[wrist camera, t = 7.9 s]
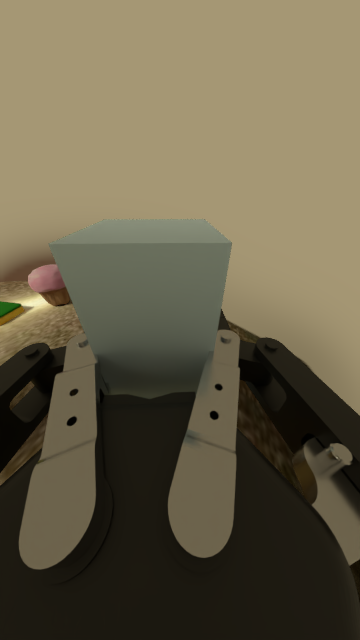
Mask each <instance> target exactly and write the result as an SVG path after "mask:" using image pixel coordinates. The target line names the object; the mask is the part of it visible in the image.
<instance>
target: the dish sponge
mask: <svg viewBox="0 0 360 640" xmlns="http://www.w3.org/2000/svg"><path fill="white" fill-rule="evenodd" d="M22 312H24V309H23V307H22V306H21V304H17V303H9V302H0V326H1V325H2V324H4V323H6V322H7V321H9V320H10V319H12V318H14V317H15V316H17V315H19V314H20V313H22Z"/></svg>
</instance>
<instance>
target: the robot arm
mask: <svg viewBox="0 0 360 640" xmlns="http://www.w3.org/2000/svg"><path fill="white" fill-rule="evenodd" d="M239 379H240V380H243V381H245V382H246V384H247V385H248V386H249V388H250V389H251V391H252V392H253V394H254V395H255V397H256V398H257V400H258V401H259V403H260V404H261V406H262V407H263V409H264V410H265V412H266V413H267V415H268V416H269V418H270V419H271V421H272V422H273V424H274V425H275V427H276V428H277V430H278V431H279V433H280V434H281V436H282V437H283V439H284V440H285V442H286V443H287V445H288V446H289V448H290V449H291V451H292V452H293V454H294V455H293V467H294V471H295V473H296V475H297V479H298V481H299V482H300V483H301V486H302V490H303V496H302V495H301V493H300V492H299V491H298V490H297V489H296V488H295V487H294V486H293V485H292V484H291V483H290V482H289V481H288V480H287V479H286V478H285V477H284V476H283V475H282V474H281V473H280V472H279V471H278V470H277V469H276V468H275V467H274V466H273V465H272V464H271V463H270V462H269V461H268V459H267V458H266V457H265V456H264V455H263V454H262V453H261V452H260V451H259V450H258V449H257V448H256V447H255V446H254V445H253V444H252V443H251V442H250V441H249V440H248V439H247V438H246V437H245V436H244V435H243V434H242V433H241V432H240V431H239V430H238V429H237V411H238V394H239ZM30 381H31V382H32V383H33V385H34V387H33V388H32V389H31V390H30V391H29V392H28V393H27V395H26V396H25V397H24V398H23V399H22V400H21V401H20V402H19V403H18V404H17V405H16V406H15V407H14V408H13V409H12V410H10V408H9V406H10V402H11V401H12V399H13V398H14V397H15V396H16V395H17V394H18V393H19V392H20V391H21V390H22V389H23V388H24V387H25V386H26V385H27V384H28V383H29V382H30ZM48 412H49V414H48V420H47V426H46V431H45V437H44V443H43V447H42V448H41V449H40V450H39V451H38V452H37V453H36V454H35V455H34V456H33V457H31V458H30V459H29V460H28V461H27V462H26V463H25V464H24V465H23V466H22V467H20V468H19V469H18V470H17V471H16V472H15V473H14V474H13V475H12V476H11V477H9V478H8V479H7V480H6V481H5V482H4V483H3V484H2V485H1V486H0V640H360V603H359V597H358V592H357V589H356V585H355V581H354V578H353V575H352V572H351V569H350V565H351V564H353V563H354V562H356V561H358V560H359V559H360V416H359V415H358V414H357V413H356V412H355V411H354V410H353V409H352V408H351V407H350V406H348V405H347V404H346V403H345V402H344V401H343V400H342V399H341V398H340V397H339V396H338V395H337V394H336V393H334V392H333V391H332V390H331V389H330V388H329V387H328V386H327V385H326V384H325V383H324V382H323V381H322V380H321V379H319V378H318V377H317V376H316V375H315V374H314V373H313V372H312V371H311V370H310V369H309V368H308V367H307V366H305V365H304V364H303V363H302V362H301V361H300V360H299V359H298V358H297V357H296V356H295V355H294V354H293V353H291V352H290V351H289V350H288V349H287V348H286V347H285V346H284V345H283V344H282V343H280V342H279V341H277V340H275V339H272V338H260V339H258V340H257V342H256V344H255V343H250V342H245V341H242V340H240V338H239V336H238V335H237V334H236V333H234V332H232V331H231V330H230V328H229V325H228V323H227V321H226V318H225V316H224V314H223V311H222V309H221V313H220V319H219V325H218V331H217V337H216V343H215V349H214V351H209V353H208V357H207V360H206V361H205V364H204V368H203V372H202V376H201V379H200V383H199V387H198V391H197V395H196V393H195V392H173V393H170V394H166V395H163V396H159V397H155V398H152V399H147V398H143V397H138V396H134V395H129V394H117V395H111V388H110V386H109V383H105V381H104V379H103V377H102V374H101V368H100V360H99V357H98V355H97V354H93V352H92V350H91V347H90V345H89V342H88V340H87V337H86V335H85V332H84V333H82V334H79V335H77V336H75V337H73V338H72V339H70V340H69V342H68V343H67V346H64V347H60V348H56V349H50V348H49V346H48V345H47V344H45V343H36V344H32V345H29V346H27V347H25V348H23V349H22V350H20V351H19V352H18V353H17V354H15V355H14V356H13V357H11V358H10V359H9V360H8V361H6V362H5V363H4V364H3V365H1V366H0V473H1V471H2V470H3V469H4V468H5V466H6V465H7V464H8V463H9V461H10V460H11V459H12V457H13V456H14V455H15V454H16V452H17V451H18V450H19V449H20V447H21V446H22V445H23V444H24V442H25V441H26V440H27V438H28V437H29V436H30V435H31V433H32V432H33V431H34V430H35V428H36V427H37V426H38V425H39V423H40V422H41V421H42V420H43V418H44V417H45V416H46V414H47V413H48Z"/></svg>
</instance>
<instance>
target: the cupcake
mask: <svg viewBox="0 0 360 640" xmlns="http://www.w3.org/2000/svg"><path fill="white" fill-rule="evenodd" d="M28 283H29V285H30V287H31V288H32V289H33V290H34V291H35V292H38V293H39V294H41V296H42V297H43V298H44V299H45V300H46V301H47V302H48V303H49V304H51V305H53V306H57V305H60V304H67V303H69V301H70V296H69V293H68V291H67V288H66V286H65V283H64V281H63V278H62V276H61V274H60V271H59V269H58V266H57V265H46V266H42V267H39V268H37V269H35V270H33V271H32V273H31V274H30V275H29V276H28Z"/></svg>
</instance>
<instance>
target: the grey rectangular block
mask: <svg viewBox="0 0 360 640" xmlns="http://www.w3.org/2000/svg"><path fill="white" fill-rule="evenodd" d="M231 246H232V242H231V241H229V240H228V239H227V238H226V237H225V236H224V235H222V234H221V233H220V232H219V231H218V230H216V229H215V228H214V227H213V226H212V225H210V224H209V223H208V222H207V221H206V220H205V219H197V220H196V219H195V220H193V219H190V220H189V219H183V220H182V219H180V220H178V219H172V220H171V219H170V220H169V219H167V220H165V219H164V220H163V219H162V220H102V221H100V222H98V223H95V224H93V225H91V226H89V227H86V228H84V229H82V230H79V231H77V232H75V233H72V234H70V235H68V236H65V237H63V238H61V239H59V240H56V241H54V242H52V243H49V247H50V249H51V251H52V254H53V256H54V259H55V261H56V264H57V266H58V269H59V271H60V274H61V276H62V278H63V281H64V283H65V286H66V288H67V291H68V293H69V296H70V298H71V301H72V303H73V305H74V308H75V310H76V313H77V315H78V318H79V320H80V323H81V325H82V327H83V330H84V332H85V335H86V337H87V340H88V342H89V345H90V347H91V350H92V352H93V354H97V355H98V357H99V360H100V368H101V374H102V377H103V379H104V381H105V383H109V386H110V388H111V395H117V394H129V395H134V396H138V397H143V398H147V399H152V398H155V397H159V396H163V395H166V394H170V393H173V392H195V393H196V395H197V391H198V387H199V383H200V379H201V376H202V372H203V368H204V364H205V361H206V360H207V357H208V353H209V351H214V349H215V343H216V337H217V331H218V325H219V319H220V313H221V306H222V300H223V294H224V288H225V282H226V276H227V270H228V264H229V258H230V252H231Z"/></svg>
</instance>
